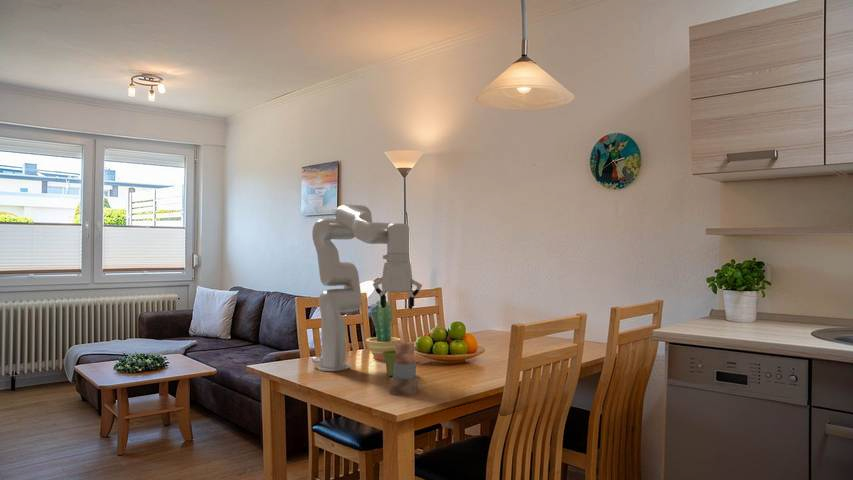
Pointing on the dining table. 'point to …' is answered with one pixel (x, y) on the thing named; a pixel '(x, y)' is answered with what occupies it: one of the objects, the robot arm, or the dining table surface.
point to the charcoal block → (404, 371)
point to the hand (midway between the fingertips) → (397, 308)
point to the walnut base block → (404, 386)
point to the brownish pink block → (404, 353)
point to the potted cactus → (381, 330)
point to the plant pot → (390, 361)
